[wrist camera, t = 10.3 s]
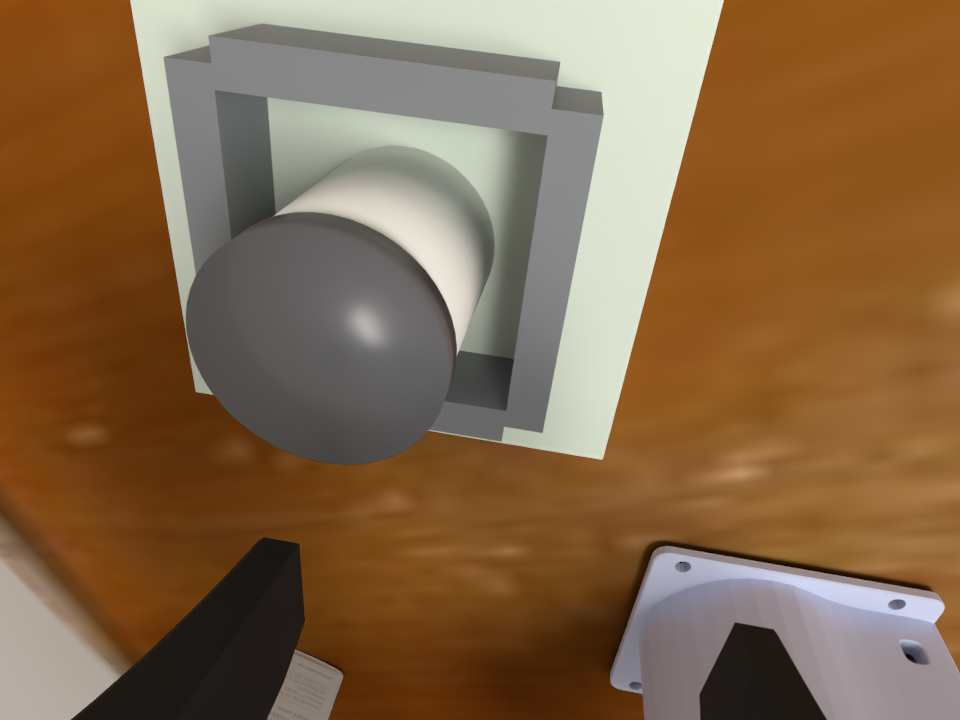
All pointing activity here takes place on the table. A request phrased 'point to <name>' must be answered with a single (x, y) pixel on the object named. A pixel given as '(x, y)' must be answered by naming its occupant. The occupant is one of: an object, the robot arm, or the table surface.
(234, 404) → the lens cylinder
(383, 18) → the mount board
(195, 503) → the table surface
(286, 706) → the skincare box
